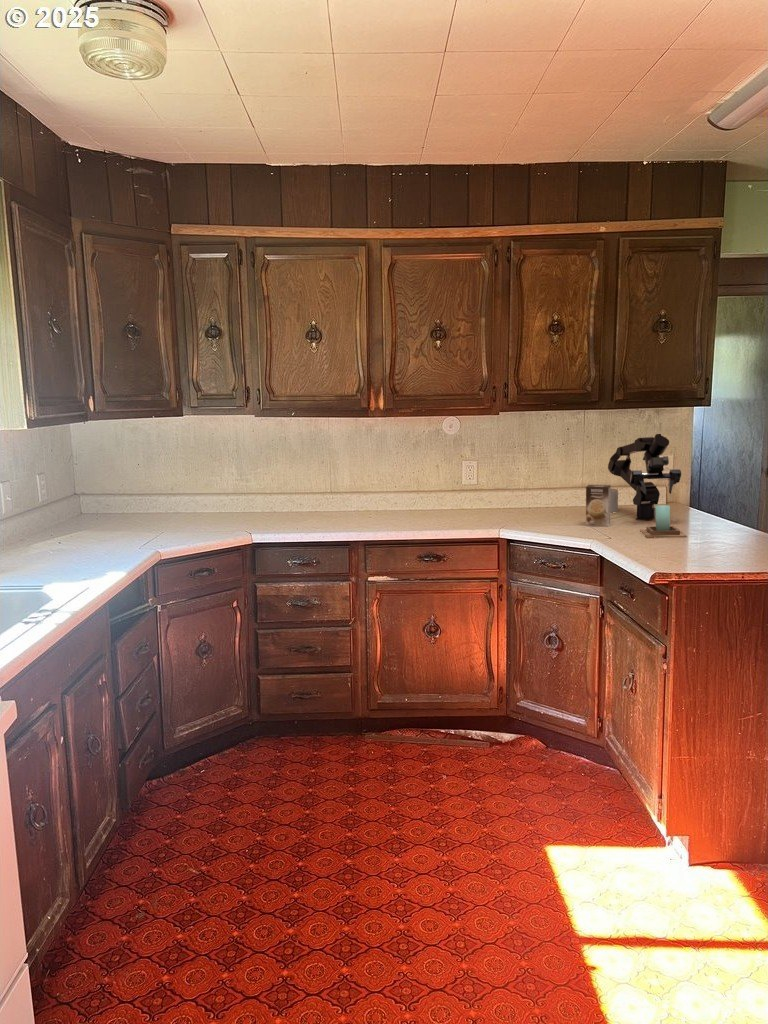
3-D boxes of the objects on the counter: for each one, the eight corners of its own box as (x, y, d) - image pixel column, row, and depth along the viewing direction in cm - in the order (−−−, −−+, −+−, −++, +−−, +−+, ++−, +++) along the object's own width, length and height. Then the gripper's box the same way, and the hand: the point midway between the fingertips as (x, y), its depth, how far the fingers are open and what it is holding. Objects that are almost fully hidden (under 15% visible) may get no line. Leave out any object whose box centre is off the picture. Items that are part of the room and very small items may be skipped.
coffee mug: (611, 514, 334) (611, 491, 332) (590, 512, 341) (590, 490, 339) (625, 510, 343) (625, 488, 342) (605, 508, 350) (605, 487, 349)
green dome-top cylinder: (652, 532, 286) (652, 506, 285) (661, 530, 289) (661, 504, 287) (664, 534, 282) (664, 507, 280) (672, 532, 285) (672, 505, 283)
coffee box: (585, 526, 310) (584, 486, 307) (587, 523, 315) (587, 484, 313) (608, 526, 306) (608, 486, 303) (611, 524, 311) (611, 484, 309)
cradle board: (639, 531, 293) (639, 525, 293) (678, 530, 291) (678, 525, 291) (646, 538, 280) (646, 532, 279) (687, 537, 278) (687, 531, 277)
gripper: (631, 450, 303) (636, 481, 294) (680, 448, 301) (686, 479, 292) (628, 468, 312) (632, 498, 303) (675, 466, 310) (681, 497, 300)
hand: (658, 493), depth 299 cm, fingers open, 9 cm apart
